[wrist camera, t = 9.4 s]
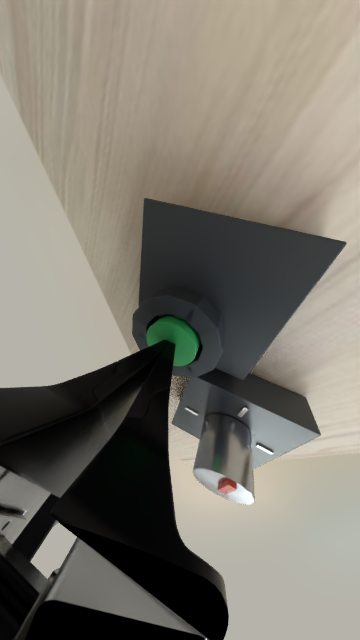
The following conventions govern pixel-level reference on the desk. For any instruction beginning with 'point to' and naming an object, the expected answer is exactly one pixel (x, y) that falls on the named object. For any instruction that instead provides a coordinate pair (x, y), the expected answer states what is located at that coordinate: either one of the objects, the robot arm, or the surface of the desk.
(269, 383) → the dial panel
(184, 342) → the button
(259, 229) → the button block
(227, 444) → the program dial
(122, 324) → the desk surface
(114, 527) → the robot arm
